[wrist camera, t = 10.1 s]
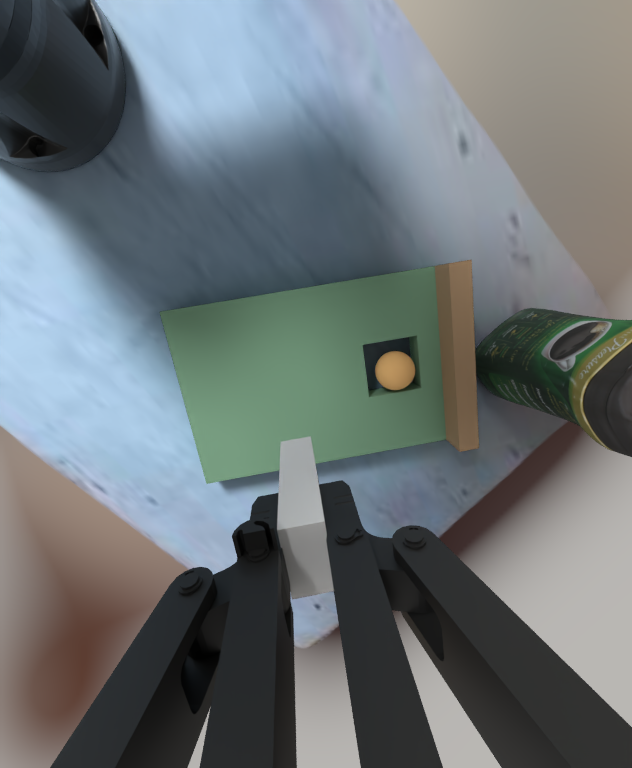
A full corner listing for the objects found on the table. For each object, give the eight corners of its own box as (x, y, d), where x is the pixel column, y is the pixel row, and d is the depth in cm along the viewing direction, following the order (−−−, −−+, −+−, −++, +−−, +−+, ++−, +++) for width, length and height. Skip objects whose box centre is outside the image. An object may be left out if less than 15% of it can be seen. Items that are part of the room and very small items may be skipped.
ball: (366, 379, 34) (406, 378, 32) (372, 345, 36) (411, 342, 34) (379, 396, 38) (417, 396, 35) (384, 363, 39) (421, 362, 37)
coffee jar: (497, 406, 40) (668, 498, 22) (458, 355, 38) (610, 410, 20) (567, 349, 39) (806, 398, 21) (530, 294, 37) (760, 296, 19)
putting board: (211, 472, 39) (199, 500, 34) (168, 310, 34) (146, 313, 29) (453, 427, 40) (479, 448, 35) (443, 264, 35) (471, 259, 30)
